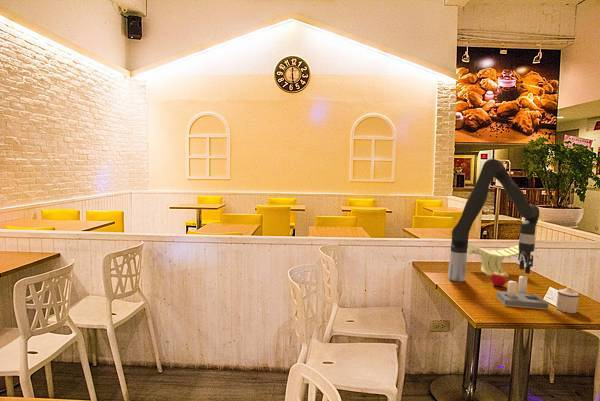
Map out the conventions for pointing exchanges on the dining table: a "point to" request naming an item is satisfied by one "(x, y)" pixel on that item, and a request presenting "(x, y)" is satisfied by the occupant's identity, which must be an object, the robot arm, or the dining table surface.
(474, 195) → the robot arm
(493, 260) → the slatted curved stool
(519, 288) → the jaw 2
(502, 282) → the apple
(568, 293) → the teacup with lid
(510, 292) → the jaw
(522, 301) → the housing
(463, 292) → the dining table surface
